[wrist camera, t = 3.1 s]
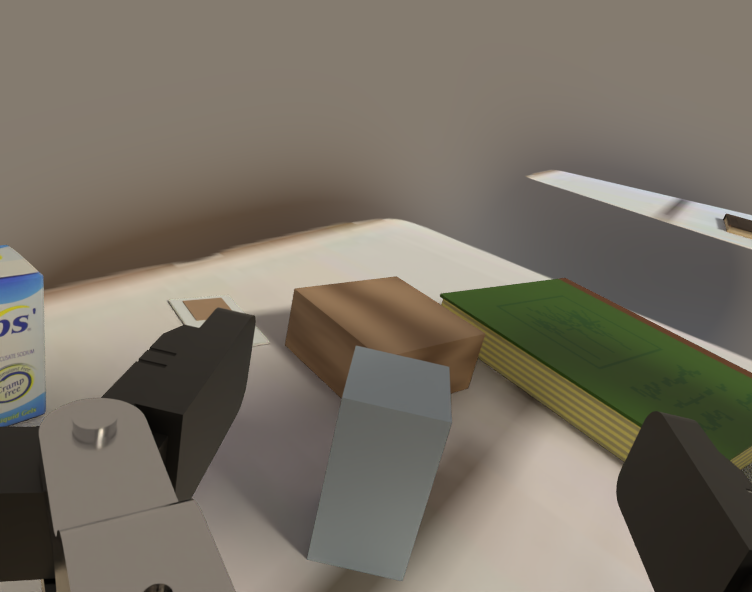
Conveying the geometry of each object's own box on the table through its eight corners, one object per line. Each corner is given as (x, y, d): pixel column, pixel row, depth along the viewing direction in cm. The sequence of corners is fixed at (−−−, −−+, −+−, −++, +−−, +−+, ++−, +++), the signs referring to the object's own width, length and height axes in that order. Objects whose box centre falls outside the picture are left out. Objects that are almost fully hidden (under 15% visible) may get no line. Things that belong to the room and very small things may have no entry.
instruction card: (228, 296, 49) (229, 293, 49) (269, 343, 44) (269, 340, 44) (168, 301, 46) (168, 298, 46) (203, 352, 41) (204, 349, 41)
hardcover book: (790, 442, 48) (813, 404, 46) (686, 517, 36) (712, 470, 35) (548, 305, 65) (559, 274, 63) (424, 327, 53) (434, 290, 52)
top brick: (406, 510, 31) (449, 366, 28) (402, 581, 27) (451, 422, 23) (323, 491, 31) (355, 345, 28) (306, 559, 27) (341, 397, 23)
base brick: (383, 328, 51) (396, 276, 49) (467, 391, 44) (485, 333, 42) (284, 348, 44) (294, 288, 42) (364, 424, 38) (380, 358, 36)
